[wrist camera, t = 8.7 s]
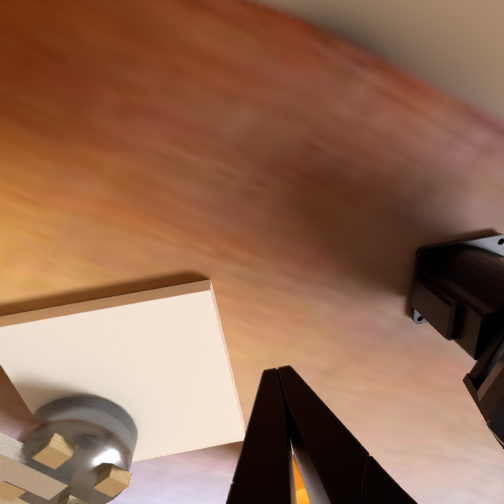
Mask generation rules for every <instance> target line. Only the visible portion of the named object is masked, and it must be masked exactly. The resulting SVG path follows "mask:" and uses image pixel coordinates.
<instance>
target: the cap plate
mask: <svg viewBox="0 0 504 504" xmlns="http://www.w3.org/2000/svg"><path fill="white" fill-rule="evenodd" d="M0 365H1V366H2V368H3V369H4V371H5V372H6V374H7V376H8V377H9V379H10V380H11V382H12V383H13V385H14V387H15V388H16V390H17V391H18V393H19V394H20V396H21V398H22V399H23V401H24V402H25V404H26V405H27V407H28V409H29V410H30V412H31V413H32V415H33V414H34V413H35V412H36V411H37V410H38V409H39V408H41V407H42V406H44V405H46V404H48V403H50V402H52V401H55V400H59V399H63V398H69V397H87V398H94V399H99V400H102V401H106V402H108V403H111V404H113V405H115V406H117V407H119V408H120V409H122V410H123V411H125V412H126V413H127V414H128V415H129V416H130V417H131V419H132V420H133V421H134V423H135V425H136V428H137V431H138V439H137V444H136V448H135V451H134V455H133V459H132V462H134V461H139V460H144V459H149V458H155V457H160V456H165V455H170V454H175V453H181V452H186V451H191V450H196V449H202V448H207V447H212V446H217V445H223V444H228V443H233V442H238V441H244V437H245V425H244V420H243V416H242V411H241V407H240V403H239V398H238V394H237V390H236V385H235V381H234V377H233V373H232V368H231V364H230V360H229V355H228V351H227V347H226V342H225V338H224V334H223V330H222V325H221V321H220V317H219V312H218V308H217V304H216V299H215V295H214V291H213V286H212V282H211V279H210V280H204V281H198V282H193V283H187V284H181V285H176V286H170V287H164V288H159V289H153V290H147V291H141V292H136V293H130V294H124V295H119V296H113V297H107V298H102V299H96V300H90V301H85V302H79V303H73V304H68V305H62V306H56V307H51V308H45V309H39V310H34V311H28V312H22V313H17V314H11V315H5V316H0Z"/></svg>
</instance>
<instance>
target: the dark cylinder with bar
mask: <svg viewBox="0 0 504 504" xmlns="http://www.w3.org/2000/svg"><path fill="white" fill-rule="evenodd" d="M137 439H138V431H137V428H136V425H135V423H134V421H133V420H132V419H131V417H130V416H129V415H128V414H127V413H126V412H125V411H123V410H122V409H120V408H119V407H117V406H115V405H113V404H111V403H108V402H106V401H102V400H99V399H94V398H87V397H69V398H63V399H59V400H55V401H52V402H50V403H48V404H46V405H44V406H42V407H41V408H39V409H38V410H37V411H36V412H35V413H34V414H33V416H32V417H31V418H30V420H29V422H28V423H27V425H26V426H25V428H24V429H23V431H22V432H21V434H20V435H19V437H18V438H17V440H15V439H13V438H11V437H9V436H7V435H5V434H3V433H1V432H0V498H1V499H3V500H6V501H8V502H11V503H12V502H13V501H14V500H15V499H17V498H19V499H21V500H23V501H25V502H27V503H29V504H106V503H108V502H110V501H111V500H113V499H114V498H115V497H117V496H118V495H119V494H120V493H121V491H122V490H124V489H125V488H127V487H128V486H129V482H130V478H131V475H132V474H131V473H130V472H129V470H130V466H131V463H132V459H133V455H134V451H135V448H136V444H137Z"/></svg>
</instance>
